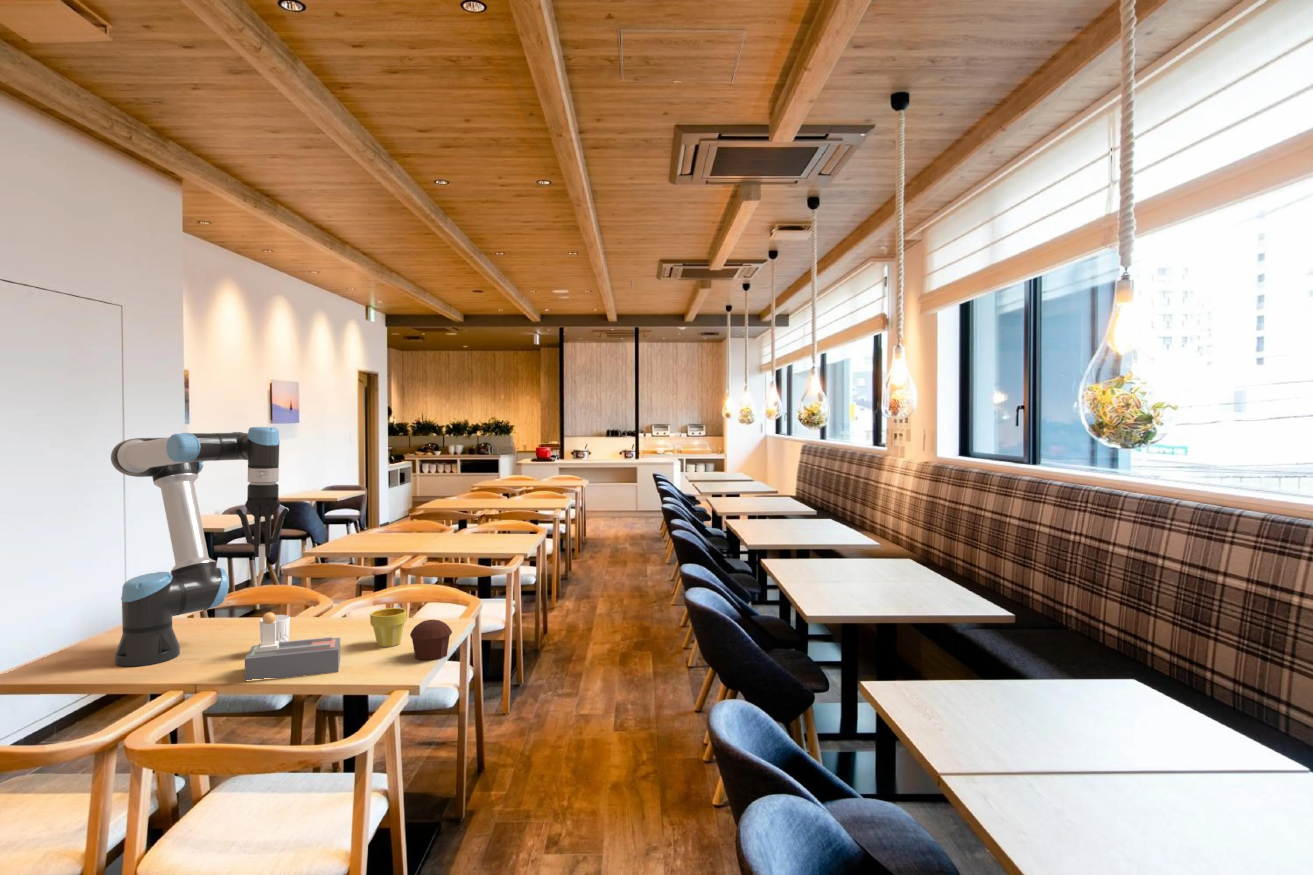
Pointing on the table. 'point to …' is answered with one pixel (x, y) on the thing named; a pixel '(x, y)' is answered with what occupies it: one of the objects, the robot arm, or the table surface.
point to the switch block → (294, 659)
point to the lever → (269, 632)
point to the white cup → (279, 628)
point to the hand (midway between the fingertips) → (262, 568)
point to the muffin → (430, 640)
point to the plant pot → (388, 626)
